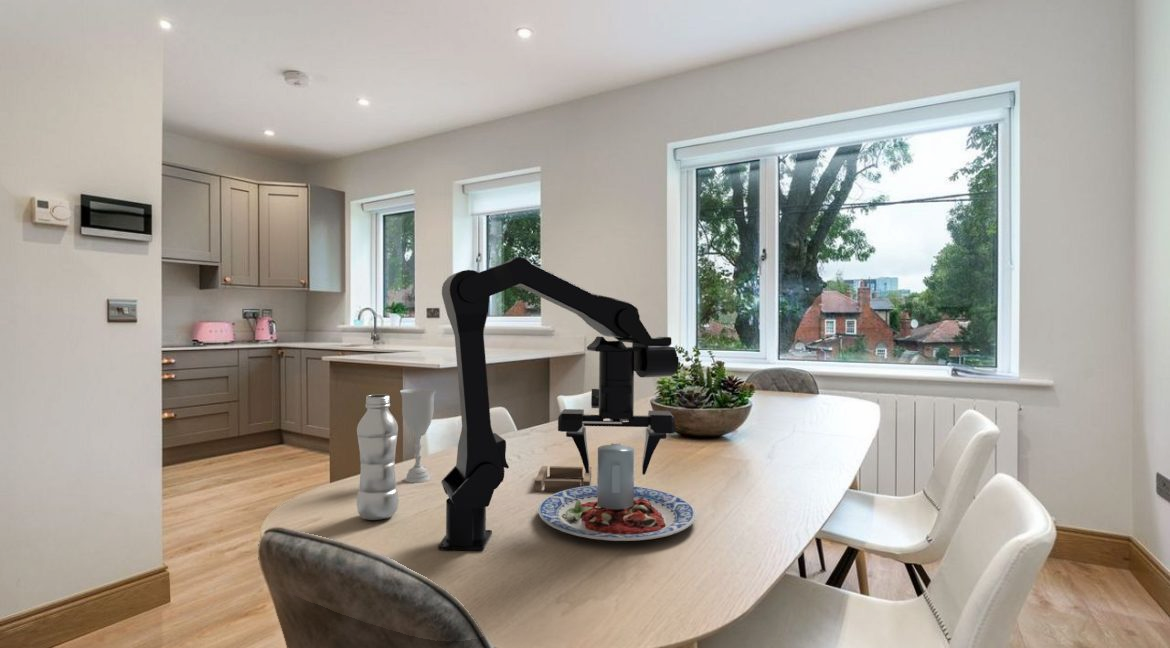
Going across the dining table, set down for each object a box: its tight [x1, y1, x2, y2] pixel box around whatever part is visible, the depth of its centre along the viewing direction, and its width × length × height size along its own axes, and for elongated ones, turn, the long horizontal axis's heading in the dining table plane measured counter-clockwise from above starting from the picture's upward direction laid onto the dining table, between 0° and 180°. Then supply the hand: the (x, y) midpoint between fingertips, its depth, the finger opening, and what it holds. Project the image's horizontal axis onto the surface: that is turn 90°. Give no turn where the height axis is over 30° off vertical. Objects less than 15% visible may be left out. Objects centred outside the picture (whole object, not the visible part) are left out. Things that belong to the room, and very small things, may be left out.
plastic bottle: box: [356, 394, 400, 521], centre depth 92 cm, size 6×7×20 cm
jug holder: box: [534, 465, 592, 492], centre depth 112 cm, size 10×10×2 cm
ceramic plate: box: [537, 484, 697, 542], centre depth 92 cm, size 26×26×3 cm
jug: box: [596, 443, 635, 509], centre depth 91 cm, size 6×10×9 cm, turn 177°
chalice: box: [399, 388, 437, 484], centre depth 114 cm, size 7×7×18 cm
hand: (615, 473), depth 92 cm, fingers open, 9 cm apart
